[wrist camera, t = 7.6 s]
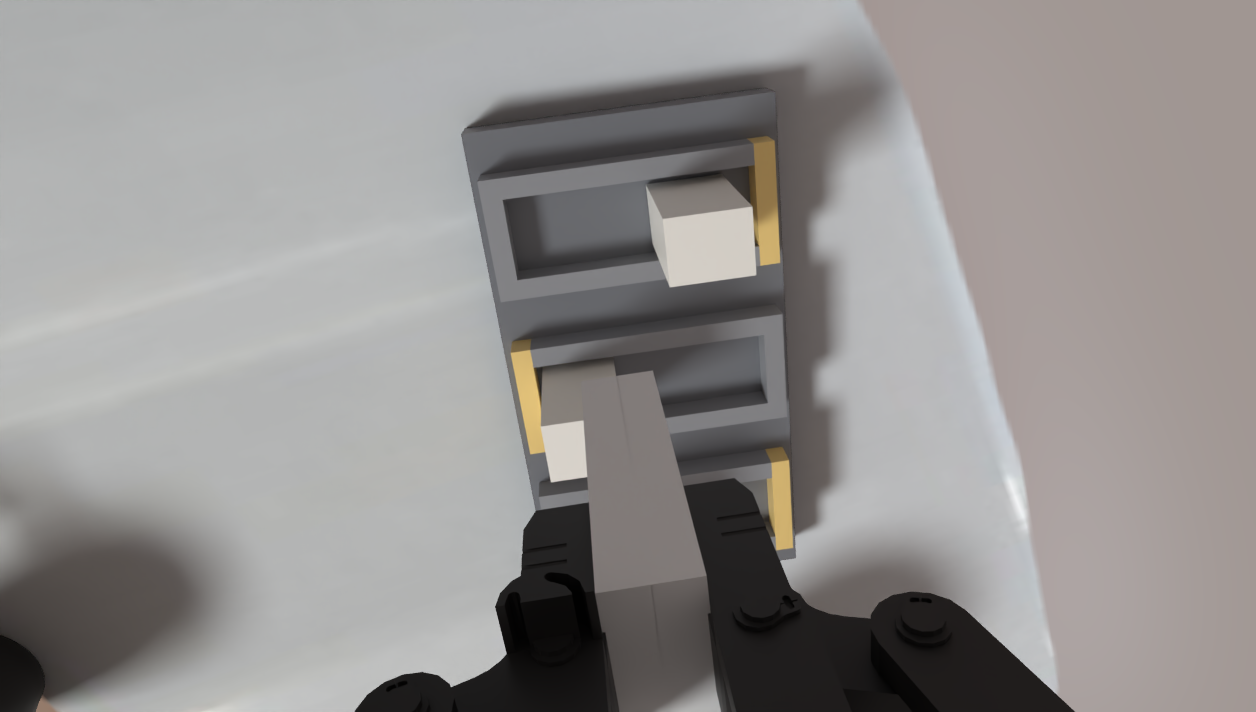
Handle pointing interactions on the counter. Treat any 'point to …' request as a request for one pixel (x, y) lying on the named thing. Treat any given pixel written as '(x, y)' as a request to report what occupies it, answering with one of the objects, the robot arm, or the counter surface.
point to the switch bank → (642, 282)
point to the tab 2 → (701, 230)
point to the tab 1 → (567, 415)
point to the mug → (19, 678)
